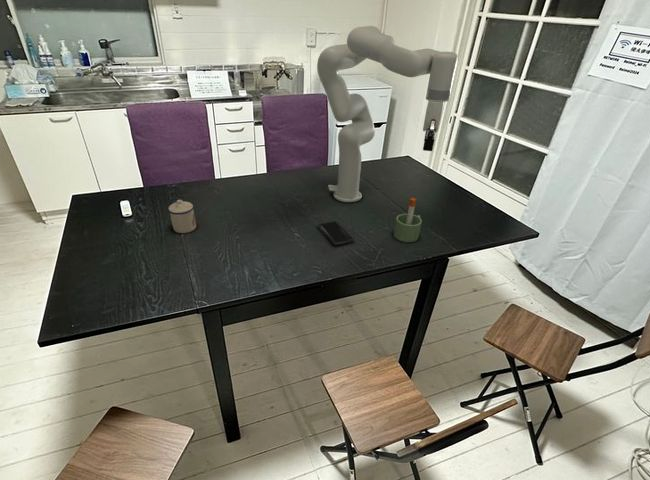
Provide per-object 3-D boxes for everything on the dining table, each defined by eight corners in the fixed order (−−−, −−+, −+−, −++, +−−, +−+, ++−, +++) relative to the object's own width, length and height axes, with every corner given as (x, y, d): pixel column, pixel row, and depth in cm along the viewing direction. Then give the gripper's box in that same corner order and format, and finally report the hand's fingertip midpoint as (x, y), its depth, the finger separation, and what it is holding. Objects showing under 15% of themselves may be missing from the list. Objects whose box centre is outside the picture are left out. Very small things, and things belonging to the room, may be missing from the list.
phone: (334, 243, 137) (318, 224, 148) (333, 246, 137) (318, 226, 148) (353, 239, 139) (336, 220, 150) (353, 242, 140) (336, 223, 151)
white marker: (403, 235, 143) (410, 199, 134) (404, 232, 144) (410, 197, 136) (409, 235, 142) (416, 200, 134) (409, 233, 144) (416, 198, 135)
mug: (409, 245, 139) (412, 228, 135) (388, 235, 144) (391, 219, 140) (427, 233, 146) (430, 217, 141) (407, 224, 151) (410, 208, 147)
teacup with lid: (199, 230, 146) (194, 202, 139) (175, 236, 142) (169, 208, 135) (191, 217, 154) (186, 190, 147) (169, 222, 151) (162, 195, 144)
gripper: (427, 88, 133) (418, 137, 143) (425, 99, 120) (415, 153, 130) (449, 90, 131) (439, 139, 142) (450, 101, 118) (438, 155, 128)
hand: (427, 146), depth 136 cm, fingers open, 9 cm apart
